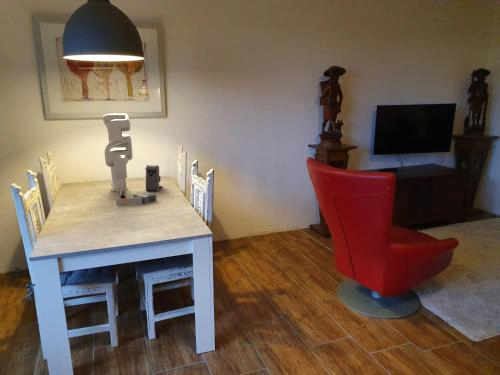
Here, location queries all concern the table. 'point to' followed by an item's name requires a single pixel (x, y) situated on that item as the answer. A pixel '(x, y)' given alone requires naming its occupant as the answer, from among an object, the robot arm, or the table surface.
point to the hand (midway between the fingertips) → (123, 202)
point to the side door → (129, 201)
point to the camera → (152, 178)
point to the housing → (146, 197)
